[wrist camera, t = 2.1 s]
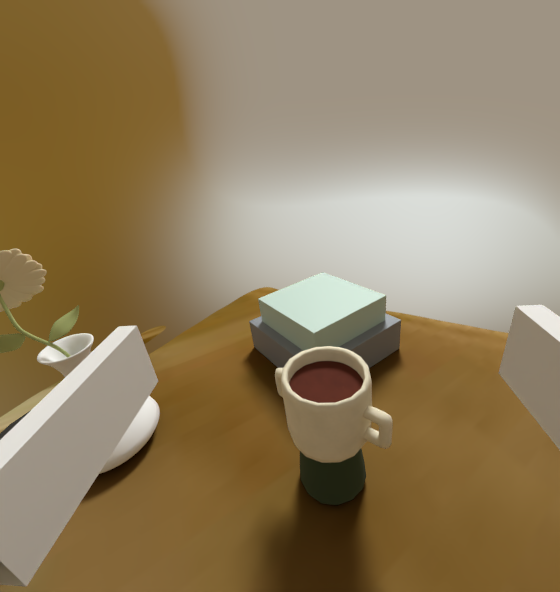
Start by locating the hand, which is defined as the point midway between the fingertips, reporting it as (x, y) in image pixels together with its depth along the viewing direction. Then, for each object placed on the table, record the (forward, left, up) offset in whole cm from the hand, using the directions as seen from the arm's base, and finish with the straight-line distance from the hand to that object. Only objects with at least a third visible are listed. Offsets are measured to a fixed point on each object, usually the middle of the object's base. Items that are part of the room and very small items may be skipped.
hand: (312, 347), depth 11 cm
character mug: (-6, -7, -23) cm, 25 cm away
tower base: (-19, -23, -23) cm, 38 cm away
